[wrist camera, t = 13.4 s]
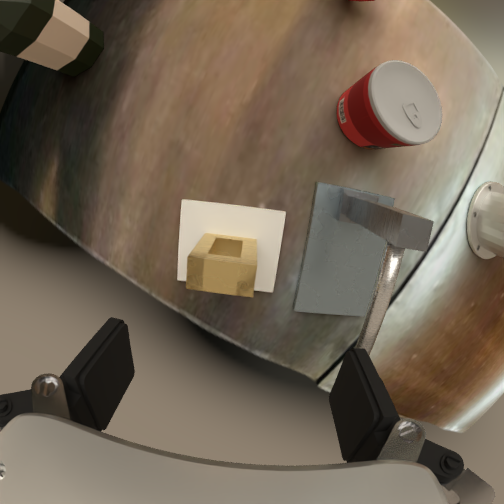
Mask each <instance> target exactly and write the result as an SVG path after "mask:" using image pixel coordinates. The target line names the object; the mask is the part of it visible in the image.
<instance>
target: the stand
mask: <svg viewBox="0 0 504 504" xmlns="http://www.w3.org/2000/svg"><path fill="white" fill-rule="evenodd" d="M394 199H395V198H391V197H387V196H383V195H379V194H374V193H370V192H365V191H361V190H356V189H351V188H346V187H341V186H336V185H331V184H325V183H320V182H316V184H315V191H314V197H313V203H312V209H311V215H310V221H309V227H308V233H307V238H306V244H305V249H304V254H303V260H302V265H301V270H300V275H299V280H298V285H297V290H296V294H295V299H294V304H293V309H294V311H298V312H309V313H321V314H335V315H350V316H365V314H366V311H367V308H368V305H369V301H370V298H371V295H372V292H373V288H374V285H375V281H376V278H377V274H378V271H379V267H380V263H381V259H382V255H383V251H384V247H385V243H386V241H388V243H387V247H386V251H385V255H384V259H383V263H382V266H381V270H380V274H379V277H378V281H377V284H376V288H375V291H374V294H373V298H372V301H371V304H370V307H369V310H368V313H367V316H366V319H365V322H364V325H363V328H362V331H361V333H360V336H359V339H358V342H357V344H356V347H355V348H365V349H366V351H367V353H368V355H370V352H371V350H372V348H373V345H374V343H375V340H376V338H377V335H378V332H379V330H380V327H381V325H382V322H383V319H384V316H385V313H386V311H387V308H388V305H389V302H390V299H391V296H392V293H393V289H394V286H395V283H396V280H397V276H398V273H399V269H400V266H401V262H402V258H403V255H404V251H405V248H407V249H413V250H418V251H424V252H426V251H427V247H428V243H429V239H430V235H431V231H432V226H433V222H434V221H431V220H429V219H426V218H423V217H420V216H418V215H415V214H412V213H409V212H406V211H403V210H400V209H397V208H394V207H393V205H394Z"/></svg>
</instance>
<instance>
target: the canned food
mask: <svg viewBox="0 0 504 504" xmlns="http://www.w3.org/2000/svg"><path fill="white" fill-rule="evenodd" d="M337 119H338V123H339V125H340V128H341V130H342V131H343V133H344V134H345V135H346V136H347V138H348V139H350V140H351V141H352V142H353V143H355V144H356V145H358V146H360V147H363V148H366V149H381V148H391V147H402V146H413V145H420V144H424V143H427V142H429V141H431V140H432V139H433V138H434V137H435V136H436V135H437V133H438V132H439V130H440V127H441V123H442V107H441V103H440V99H439V96H438V94H437V92H436V90H435V88H434V86H433V84H432V83H431V82H430V80H429V79H428V78H427V77H426V76H425V75H424V74H423V73H422V72H421V71H420V70H419V69H417V68H416V67H415V66H413V65H411V64H409V63H406V62H403V61H398V60H392V61H387V62H384V63H382V64H380V65H378V66H377V67H376V68H374V69H373V70H372V71H370V72H369V73H368V74H366V75H365V76H364V77H363V78H361V79H360V80H359V81H358V82H356V83H355V84H354V85H353V86H351V87H350V88H349V89H348V90H347V91H345V92H344V93H343V94H342V96H341V97H340V99H339V101H338V105H337Z"/></svg>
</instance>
